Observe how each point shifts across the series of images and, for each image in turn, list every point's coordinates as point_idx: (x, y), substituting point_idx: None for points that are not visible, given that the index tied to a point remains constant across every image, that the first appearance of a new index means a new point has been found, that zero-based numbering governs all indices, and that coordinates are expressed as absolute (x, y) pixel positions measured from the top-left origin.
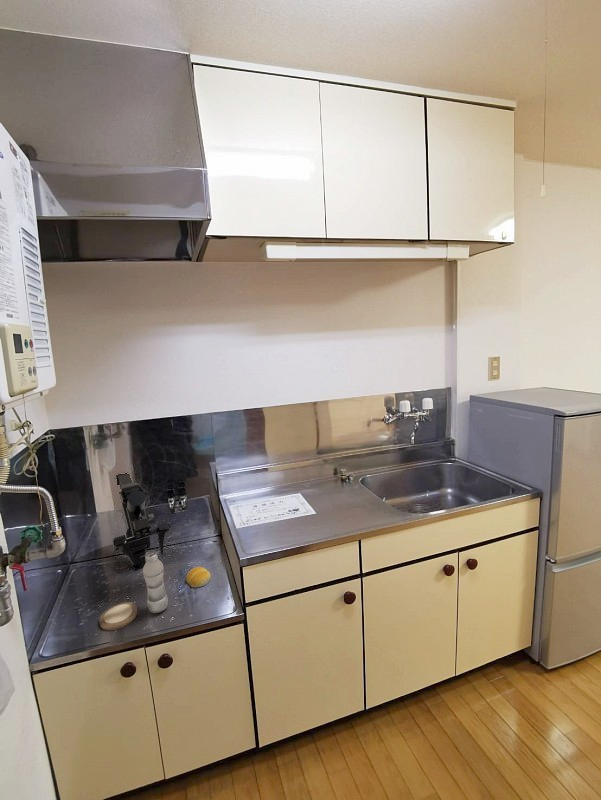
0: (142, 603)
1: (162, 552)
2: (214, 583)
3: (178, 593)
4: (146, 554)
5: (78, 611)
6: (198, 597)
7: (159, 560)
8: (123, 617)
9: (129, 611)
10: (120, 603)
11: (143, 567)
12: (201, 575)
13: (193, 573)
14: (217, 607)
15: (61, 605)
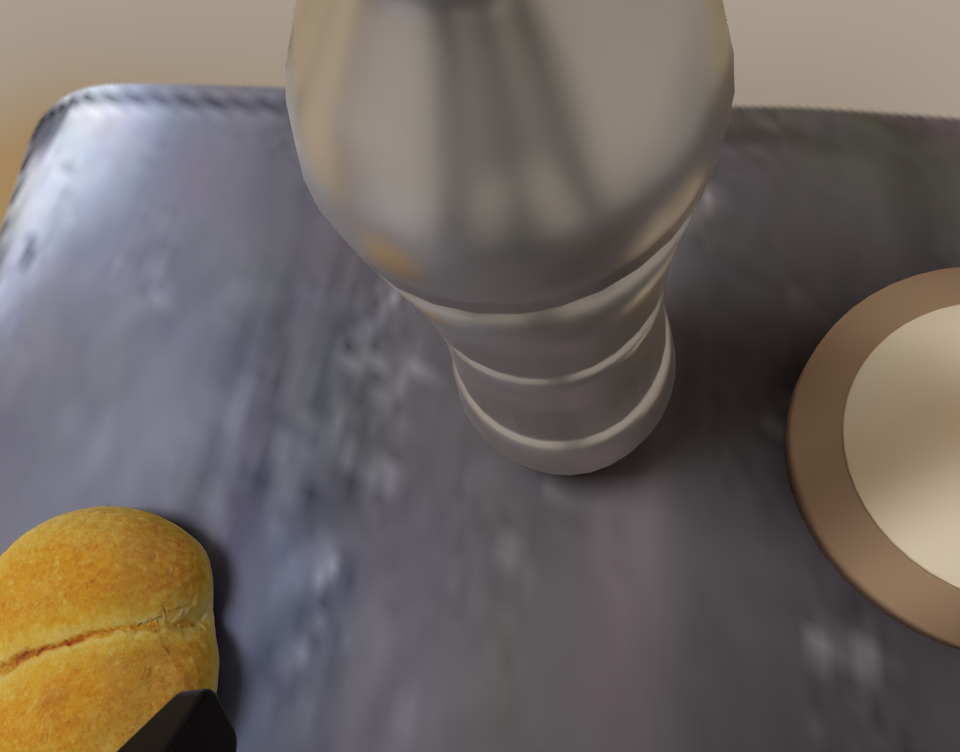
0: (730, 569)
1: (164, 714)
2: (21, 503)
3: (351, 534)
4: None
5: None
6: (211, 374)
7: (298, 19)
8: (934, 343)
9: (875, 414)
10: None
11: (713, 15)
12: (37, 557)
13: (90, 658)
14: (136, 188)
15: None
